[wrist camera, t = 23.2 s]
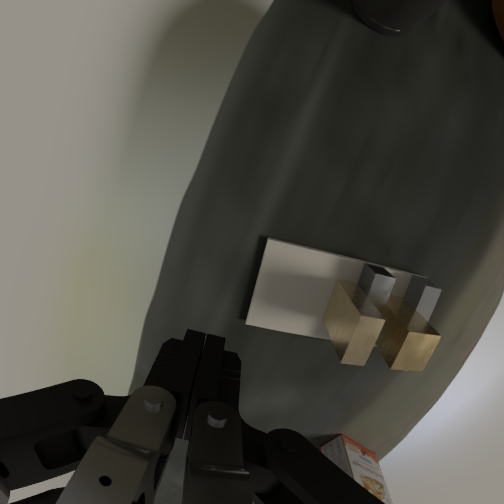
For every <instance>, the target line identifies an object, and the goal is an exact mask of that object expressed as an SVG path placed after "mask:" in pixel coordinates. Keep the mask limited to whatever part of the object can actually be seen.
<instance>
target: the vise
mask: <svg viewBox="0 0 504 504" xmlns="http://www.w3.org/2000/svg"><path fill="white" fill-rule="evenodd" d="M365 263H367V264H371V265H375V266H379V267H383V268H385V269H386V270H387V271H388V272H389V273H391V274H392V275H393V276H394V277H395V278H396V280H395V283H394V286H393V288H392V291H391V293H390V295H395V296H399V297H404V298H405V299H406V300H407V301H408V302H409V303H410V304H411V305H412V306H413V307H414V308H415V309H416V310H417V311H418V312H419V313H420V314H421V315H422V316H423V317H424V318H425V319H426V321H427V322H428V320H429V318H430V316H431V314H432V311H433V309H434V307H435V304H436V302H437V300H438V297H439V295H440V293H441V290H442V289H440V288H439V287H438V286H436V285H435V284H434V283H433V282H431V281H430V280H429V279H427V278H426V277H424V276H421V275H417V274H413V273H409V272H406V271H402V270H398V269H394V268H390V267H386V266H382V265H378V264H375V263H371V262H367V261H363V260H359V259H355V258H351V257H347V256H343V255H339V254H335V253H331V252H327V251H323V250H319V249H315V248H311V247H307V246H303V245H298V244H294V243H290V242H286V241H282V240H278V239H274V238H269V237H268V238H267V242H266V246H265V250H264V254H263V258H262V261H261V265H260V269H259V273H258V277H257V280H256V284H255V288H254V292H253V295H252V299H251V303H250V307H249V310H248V314H247V318H246V324H248V325H253V326H258V327H262V328H267V329H272V330H278V331H283V332H288V333H293V334H299V335H305V336H310V337H316V338H322V339H328V340H331V338H330V336H329V334H328V331H327V329H326V326H325V324H324V321H323V318H324V315H325V312H326V310H327V307H328V304H329V301H330V299H331V296H332V293H333V290H334V287H335V284H336V282H337V280H342V281H346V282H351V283H355V284H358V281H359V278H360V276H361V273H362V270H363V267H364V264H365ZM374 346H376V344H374ZM376 347H377V346H376Z"/></svg>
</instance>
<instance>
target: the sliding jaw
mask: <svg viewBox="0 0 504 504" xmlns="http://www.w3.org/2000/svg"><path fill="white" fill-rule="evenodd" d="M395 280H396V278H395V277H394V276H393V275H392V274H391V273H389V272H388V271H387V270H386V269H385V268H383V267H379V266H375V265H371V264H367V263H365V264H364V267H363V270H362V273H361V276H360V278H359V281H358V284H355V283H351V282H346V281H342V280H337V282H336V284H335V287H334V290H333V293H332V296H331V299H330V301H329V304H328V307H327V310H326V312H325V315H324V318H323V321H324V324H325V326H326V329H327V331H328V334H329V336H330V338H331V341H332V343H333V346H334V348H335V351H336V353H337V356H338V358H339V361H340V363H344V364H352V365H361V366H364V365H365V363H366V361H367V359H368V357H369V355H370V353H371V351H372V349H373V347H374V344H375V342H376V340H377V338H378V336H379V334H380V332H381V329H382V327H383V325H384V323H385V318H384V317H383V316H382V313H383V311H384V308H385V306H386V303H387V301H388V298H389V296H390V293H391V291H392V288H393V286H394V283H395Z"/></svg>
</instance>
